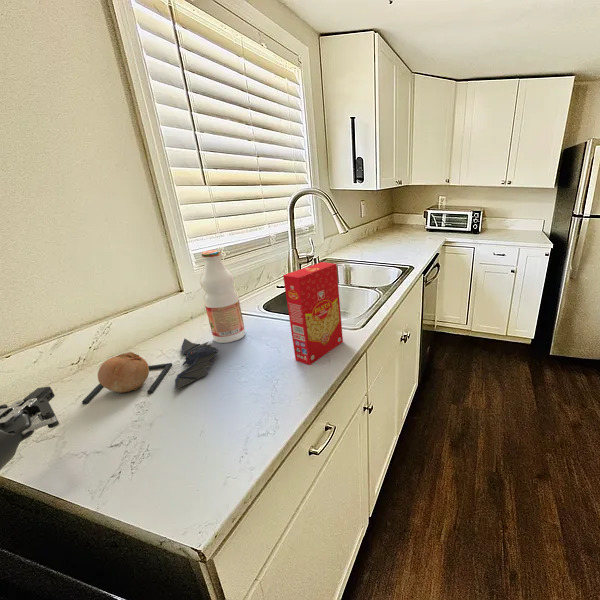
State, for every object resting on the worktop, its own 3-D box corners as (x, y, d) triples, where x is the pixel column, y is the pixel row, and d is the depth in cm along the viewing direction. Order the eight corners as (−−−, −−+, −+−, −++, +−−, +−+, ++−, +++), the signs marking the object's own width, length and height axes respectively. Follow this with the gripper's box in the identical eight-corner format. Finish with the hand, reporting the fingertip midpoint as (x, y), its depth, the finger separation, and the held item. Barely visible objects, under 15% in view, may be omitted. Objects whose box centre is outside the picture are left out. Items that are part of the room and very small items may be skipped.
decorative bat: (216, 368, 80) (169, 383, 76) (221, 382, 81) (175, 397, 77) (216, 323, 104) (180, 333, 100) (220, 335, 106) (184, 344, 102)
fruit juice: (232, 345, 100) (212, 256, 90) (206, 342, 102) (184, 254, 92) (252, 331, 108) (235, 248, 98) (228, 329, 111) (209, 247, 101)
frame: (82, 404, 75) (81, 401, 74) (112, 373, 86) (111, 370, 86) (152, 393, 78) (151, 390, 78) (172, 365, 90) (171, 362, 89)
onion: (149, 388, 85) (159, 351, 85) (134, 401, 76) (145, 360, 76) (104, 383, 81) (115, 344, 82) (83, 396, 73) (95, 352, 73)
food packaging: (309, 365, 89) (298, 277, 80) (295, 360, 91) (283, 275, 82) (342, 342, 101) (336, 263, 92) (329, 338, 103) (322, 261, 94)
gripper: (3, 439, 42) (84, 367, 57) (-138, 462, 39) (-11, 379, 54) (27, 481, 45) (99, 401, 60) (-102, 506, 41) (9, 415, 57)
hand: (46, 391), depth 57 cm, fingers closed
